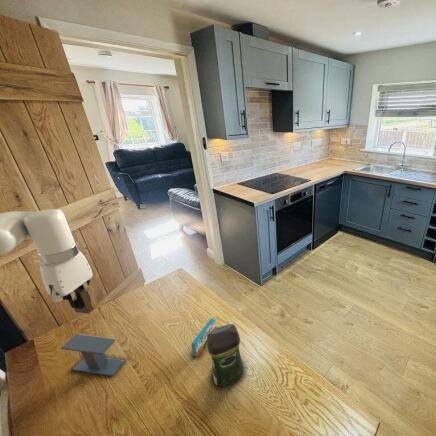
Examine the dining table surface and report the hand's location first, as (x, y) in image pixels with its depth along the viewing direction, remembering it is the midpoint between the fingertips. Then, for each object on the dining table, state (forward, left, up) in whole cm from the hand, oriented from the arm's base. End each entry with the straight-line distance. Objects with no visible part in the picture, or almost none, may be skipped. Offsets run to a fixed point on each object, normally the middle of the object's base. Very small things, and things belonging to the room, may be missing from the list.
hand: (82, 304), depth 73 cm
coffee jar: (+37, -25, -23) cm, 50 cm away
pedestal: (-1, -4, -23) cm, 23 cm away
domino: (0, 0, -3) cm, 3 cm away
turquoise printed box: (+32, -10, -23) cm, 41 cm away
